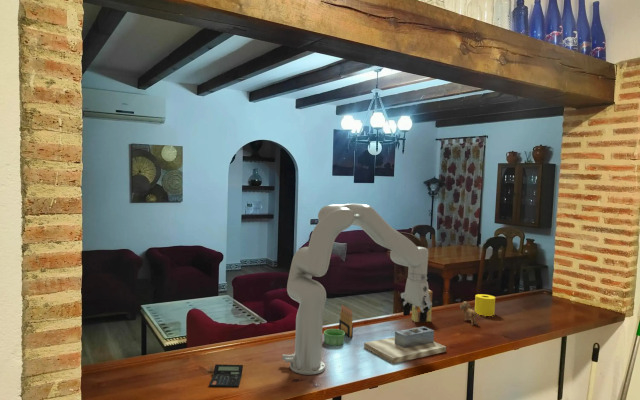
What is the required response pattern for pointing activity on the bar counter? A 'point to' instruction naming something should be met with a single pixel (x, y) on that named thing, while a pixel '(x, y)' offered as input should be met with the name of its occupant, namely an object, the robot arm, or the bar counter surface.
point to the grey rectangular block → (414, 337)
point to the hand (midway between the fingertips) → (414, 318)
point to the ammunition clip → (346, 321)
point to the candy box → (417, 310)
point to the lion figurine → (468, 312)
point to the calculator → (226, 376)
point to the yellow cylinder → (484, 304)
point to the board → (402, 349)
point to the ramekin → (334, 337)
